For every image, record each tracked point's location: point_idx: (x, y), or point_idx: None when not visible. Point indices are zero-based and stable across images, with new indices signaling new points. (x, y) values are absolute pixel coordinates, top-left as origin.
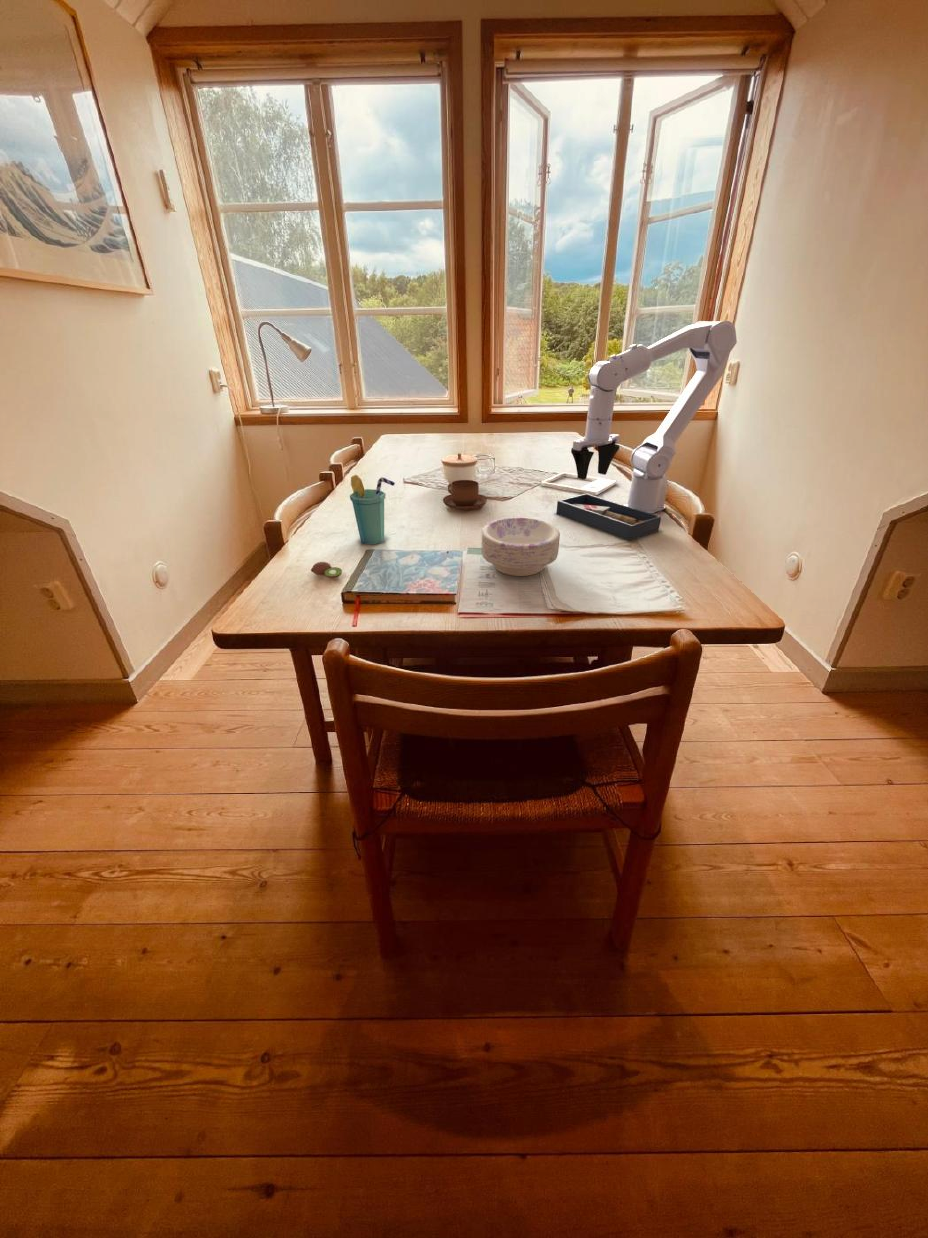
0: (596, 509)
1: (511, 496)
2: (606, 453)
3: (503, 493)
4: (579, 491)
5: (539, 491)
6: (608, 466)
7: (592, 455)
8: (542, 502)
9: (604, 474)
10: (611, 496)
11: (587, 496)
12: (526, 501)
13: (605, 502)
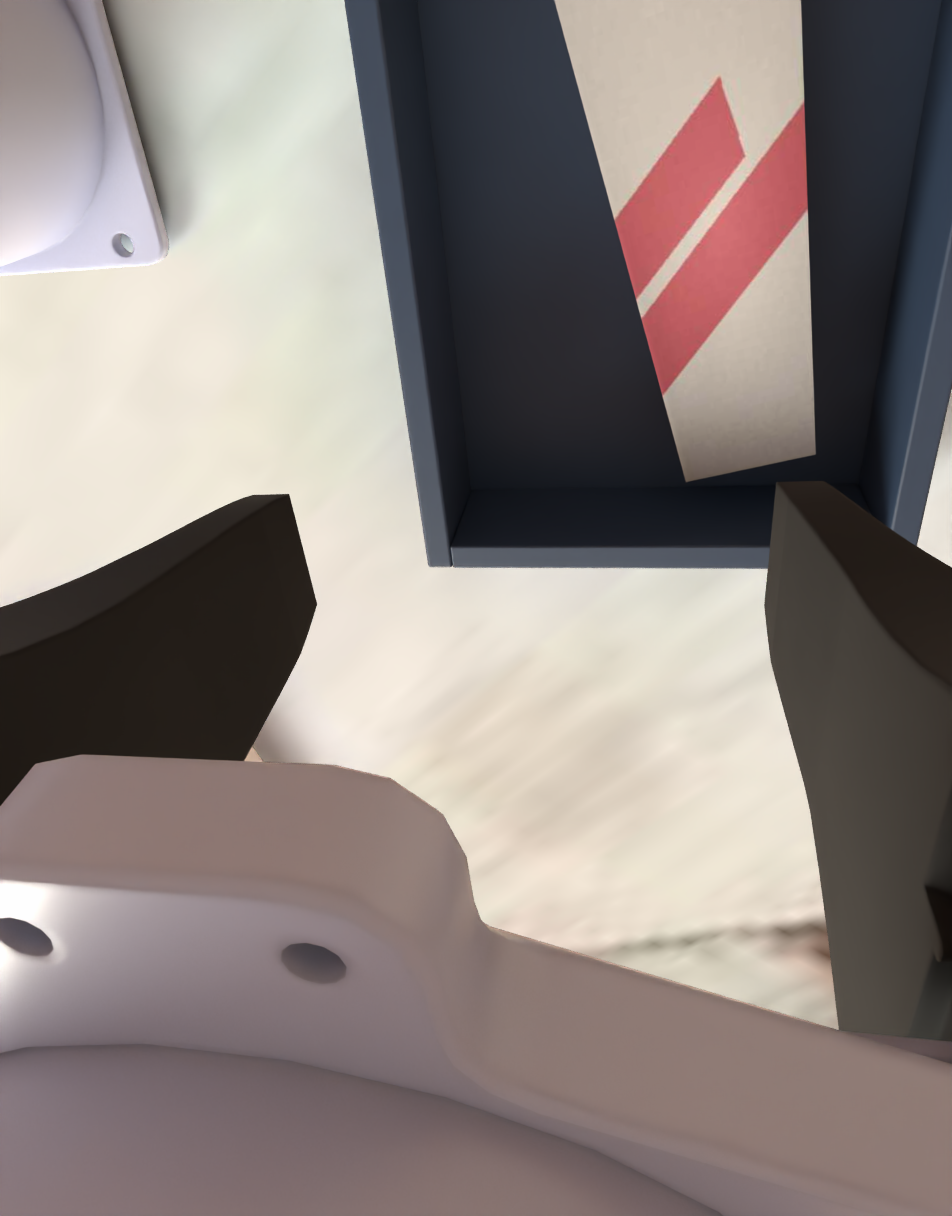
0: (777, 41)
1: (767, 946)
2: (112, 751)
3: (758, 1001)
4: (252, 752)
5: (505, 905)
6: (182, 536)
7: (947, 677)
8: (689, 759)
9: (285, 495)
10: (55, 551)
11: (452, 517)
12: (775, 835)
13: (418, 239)
